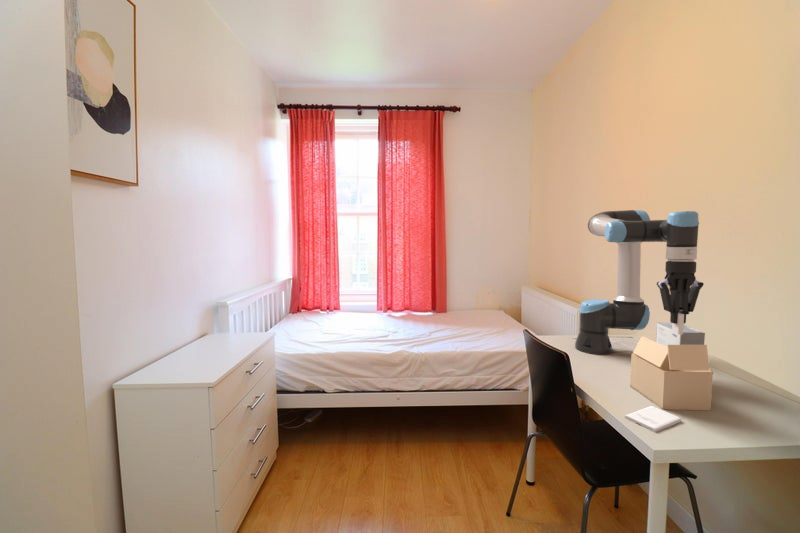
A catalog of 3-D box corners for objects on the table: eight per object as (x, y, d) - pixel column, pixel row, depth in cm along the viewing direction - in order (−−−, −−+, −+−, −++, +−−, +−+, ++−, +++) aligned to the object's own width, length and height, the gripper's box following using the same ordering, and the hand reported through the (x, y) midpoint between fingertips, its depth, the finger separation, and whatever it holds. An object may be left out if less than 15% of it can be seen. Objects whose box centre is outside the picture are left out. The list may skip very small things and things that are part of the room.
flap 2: (667, 344, 102) (667, 344, 102) (705, 344, 102) (706, 344, 101) (669, 369, 102) (670, 369, 101) (708, 369, 101) (709, 370, 100)
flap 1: (633, 353, 116) (632, 352, 116) (642, 336, 116) (641, 335, 116) (660, 367, 103) (659, 367, 103) (671, 348, 103) (670, 348, 103)
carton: (629, 385, 119) (630, 352, 118) (672, 386, 118) (674, 352, 117) (662, 409, 103) (664, 370, 102) (713, 410, 102) (715, 370, 101)
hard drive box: (702, 390, 115) (706, 333, 113) (677, 388, 117) (680, 332, 115) (675, 372, 130) (678, 321, 129) (653, 371, 132) (655, 321, 130)
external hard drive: (681, 423, 96) (654, 434, 91) (650, 410, 104) (624, 419, 99) (681, 418, 96) (655, 428, 91) (650, 405, 104) (624, 414, 99)
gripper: (668, 261, 103) (664, 336, 105) (712, 260, 102) (708, 336, 104) (651, 260, 111) (648, 330, 112) (692, 259, 110) (689, 330, 111)
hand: (677, 333), depth 108 cm, fingers closed
